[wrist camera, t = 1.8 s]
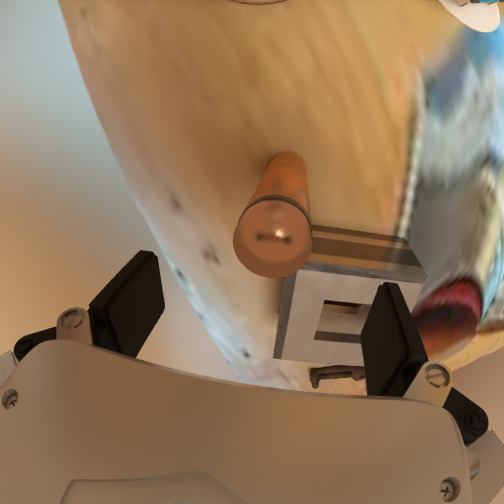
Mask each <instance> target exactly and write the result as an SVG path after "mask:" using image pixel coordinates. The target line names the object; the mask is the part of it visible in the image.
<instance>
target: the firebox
mask: <svg viewBox="0 0 504 504" xmlns="http://www.w3.org/2000/svg"><path fill="white" fill-rule="evenodd" d="M426 278H427V274H426V272H425V271H424V269H423V267H422V266H421V264H420V262H419V261H418V259H417V257H416V256H415V254H414V253H413V251H412V249H411V248H410V246H409V245H408V243H407V242H406V240H405V239H404V238H399V237H393V236H386V235H380V234H373V233H366V232H359V231H352V230H345V229H338V228H331V227H323V226H316V225H312V250H311V254H310V257H309V259H308V261H307V262H306V264H305V265H304V266H303V267H302V268H301V269H300V270H298V271H297V272H295V273H294V274H292V275H289V276H286V277H284V283H283V291H282V298H281V305H280V311H279V318H278V326H277V333H276V340H275V347H274V354H273V358H275V359H283V360H292V361H301V362H311V363H322V364H334V365H350V366H364V361H363V354H362V348H361V341H360V335H361V331H362V329H363V326H364V324H365V321H366V319H367V316H368V314H369V311H370V308H371V306H372V303H373V300H374V297H375V295H376V292H377V289H378V286H379V285H383V283H384V282H393V283H398V285H399V287H400V289H401V292H402V294H403V296H404V299H405V301H406V304H407V306H408V308H409V311H410V313H411V312H412V309H413V307H414V305H415V303H416V301H417V299H418V296H419V294H420V292H421V289H422V287H423V285H424V282H425V280H426ZM324 300H332V301H341V302H351V303H357V306H356V307H349V306H339V305H330V304H323V303H324Z"/></svg>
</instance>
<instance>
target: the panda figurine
mask: <svg viewBox="0 0 504 504" xmlns="http://www.w3.org/2000/svg"><path fill="white" fill-rule="evenodd" d="M497 1H500V2H504V0H438V2H439V3H440V4H441V5H442V6H443V8H444V9H445V10H446V11H447V12H448V13H449V14H450V15H452V16H453V17H454V18H455V19H456V20H458V21H459V22H460V23H462V24H463V25H465V26H466V27H468V28H470V29H472V30H475V31H478V32H482V33H487V32H492V31H494V30H495V29H496V28H497V27H498V25H499V21H500V14H499V9H498V5H497V3H496V2H497Z"/></svg>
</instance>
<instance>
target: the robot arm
mask: <svg viewBox="0 0 504 504" xmlns="http://www.w3.org/2000/svg"><path fill="white" fill-rule="evenodd" d="M235 1H238V2H244V3H254V4H264V3H274V2H279V1H283V0H235ZM89 307H90V308H89V309H88V310H87V311H86V310H85V309H83V308H79V307H75V308H71V309H68V310H66V311H64V312H63V313H62V314H61V315H60V316H59V318H58V319H57V326H56V327H53V328H49V329H46V330H43V331H40V332H36V333H33V334H29V335H26V336H24V337H22V338H21V339H20V340H18V342H17V343H16V344H15V346H14V352H11V350H9V351H8V352H6V353H4V354H3V355H1V356H0V504H489V503H490V502H491V501H492V500H493V499H494V497H495V496H496V495H497V494H498V492H499V491H500V490H501V488H502V487H503V486H504V445H503V443H502V442H501V441H500V439H499V438H498V437H497V435H496V434H495V433H494V431H493V430H491V431H489V430H488V429H487V428H488V417H487V415H486V413H485V411H484V410H483V409H482V408H480V407H479V406H478V405H476V404H475V403H473V402H472V401H471V400H469V399H468V398H467V397H465V396H464V395H463V394H461V393H460V392H458V391H457V390H456V389H454V388H453V387H452V385H453V375H452V373H451V371H450V369H449V368H448V367H447V366H446V365H445V364H443V363H441V362H439V361H429V360H428V357H427V354H426V351H425V349H424V346H423V343H422V340H421V337H420V335H419V332H418V329H417V327H416V324H415V321H414V319H413V317H412V316H411V313H410V311H409V308H408V306H407V304H406V301H405V299H404V296H403V294H402V292H401V289H400V287H399V285H398V283H393V282H384V283H383V285H379V286H378V289H377V292H376V295H375V297H374V300H373V303H372V306H371V308H370V311H369V314H368V316H367V319H366V321H365V324H364V326H363V329H362V331H361V335H360V341H361V348H362V354H363V361H364V368H365V375H366V383H367V392H368V396H365V395H345V394H328V393H315V392H304V391H295V390H286V389H278V388H270V387H263V386H257V385H250V384H244V383H238V382H233V381H227V380H221V379H216V378H212V377H207V376H203V375H198V374H194V373H189V372H185V371H181V370H177V369H173V368H169V367H165V366H161V365H158V364H154V363H151V362H147V361H144V360H140V359H137V358H136V356H137V355H138V353H139V351H140V350H141V348H142V346H143V345H144V343H145V341H146V340H147V338H148V336H149V334H150V333H151V331H152V330H153V328H154V326H155V325H156V323H157V321H158V320H159V318H160V316H161V315H162V313H163V311H164V309H165V302H164V296H163V290H162V283H161V277H160V270H159V263H158V257H157V256H156V255H155V254H154V252H151V251H144V250H140V251H139V252H138V253H137V254H136V255H135V256H134V257H133V258H132V259H131V260H130V261H129V262H128V263H127V264H126V265H125V266H124V267H123V268H122V269H121V270H120V271H119V273H117V274H116V276H115V277H114V278H113V279H112V280H111V281H110V282H109V283H108V284H107V285H106V286H105V287H104V289H102V291H101V292H100V293H99V294H98V295H97V296H96V297H95V298H94V300H93V301H92V302H91V303H90V304H89Z"/></svg>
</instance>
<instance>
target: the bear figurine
mask: <svg viewBox="0 0 504 504" xmlns="http://www.w3.org/2000/svg"><path fill="white" fill-rule="evenodd" d="M347 371H350V372H347ZM335 372H341V373H335ZM321 373H326V374H321ZM348 377H352V378H353V379H354V380H356V381H359V380H362V379H364V378H366V375H365V368H364V366H339V367H336V366H333V367H325V368H312V369H311V373H310V381H311V383H312V387H313V388H315V389H316V388H318V386H319V381H320V380H321V379H338V378H348ZM367 395H368V392H367Z"/></svg>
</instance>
